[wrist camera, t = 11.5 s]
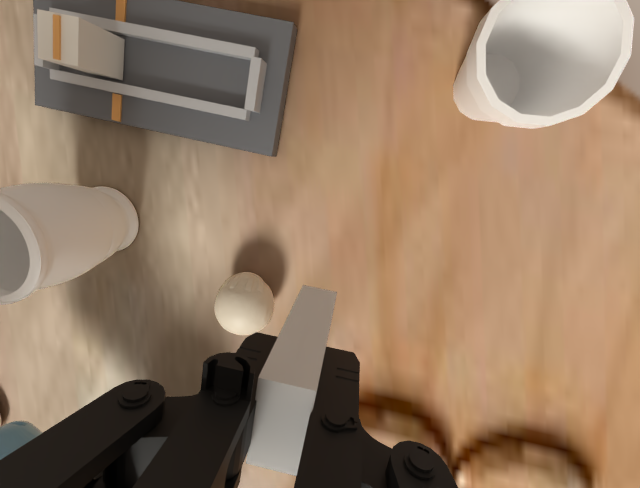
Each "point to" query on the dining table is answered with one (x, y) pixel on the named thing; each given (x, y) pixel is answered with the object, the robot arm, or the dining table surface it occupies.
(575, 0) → the foam cup
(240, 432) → the robot arm
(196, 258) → the dining table surface
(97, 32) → the block
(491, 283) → the dining table surface
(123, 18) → the marker
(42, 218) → the jar
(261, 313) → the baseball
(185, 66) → the slider track
